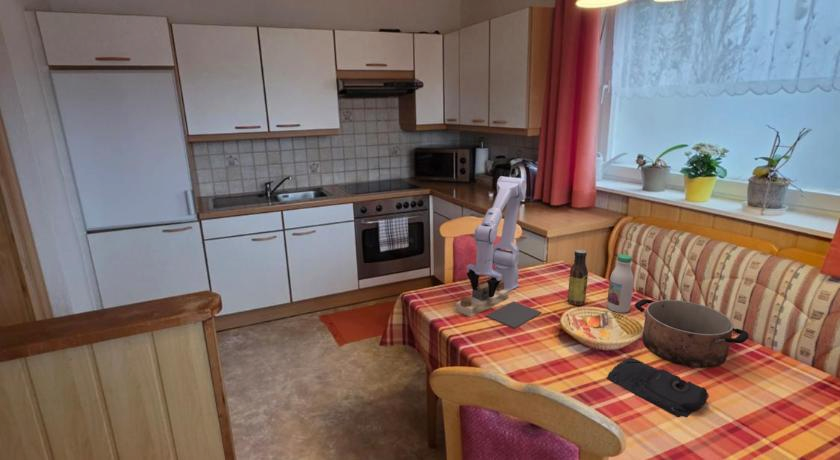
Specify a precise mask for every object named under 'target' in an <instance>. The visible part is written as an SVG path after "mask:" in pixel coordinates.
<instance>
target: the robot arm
mask: <svg viewBox="0 0 840 460" xmlns="http://www.w3.org/2000/svg"><path fill="white" fill-rule="evenodd" d="M496 192H497V193H496V196H495V199H494V201H493V205H492V206H491V208H488V209H487V211H486V213H485V215H484V217H483V219H482V222H481V223H480V224H479V225H477V226H476V228H475V229H474V233H473V237H474V243H475V246H476V258H475V259H476V263H475V264H471V263H469V264H467V265H466V271H468V272H466V276H467V278H468V280H469V281H470V282H469V283H470V285H471V289H474V288H477V286H479V279H480V276H481V275H482V276H485V277H489V279H487V280H486V281H487V282H486V283H488V286H489V297H490V298H491V297H493V296H494V294H495V291H496V288H497V286H498V284H499V283H500V281H503V282H504V289H505V290H508V291H509V292H510V291H512V290H514V289H516V288H519V287H520V284H518V283H519V282H518V281H519V268H518V264H519V262H520V248H519V247H518V246H517V245H516V244H515V243H514V240H515V234H516V229H517V221H518V215H519V208H520V206H521V205H520V204H521V202H522V201H524V200H525V196H526V192H527V182H526V179H525V178H524V177H511V176H503V175H501V176H499V178H497V181H496ZM504 208H505V212H504V218H503V212H502V211H503V210H504ZM502 218H503V223H502V224H503V225H502V230H501V231H502V232H501V237H500V241H499V242H497V243H496V244H494V243H495V241H496V239H497V235H498V230H499V229H498V228H499V225H500V223H501V220H502ZM493 267H495V268H494V269H493Z"/></svg>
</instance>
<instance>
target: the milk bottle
mask: <svg viewBox="0 0 840 460" xmlns="http://www.w3.org/2000/svg"><path fill="white" fill-rule="evenodd" d="M616 260H617V264H616V266H615V267H614V269H613V271H612V272H611V275H610V278H609V284H608V293H607V301H606V307H607V309H608V310H610V311H611V312H614V311H615V312H614V313H621V314H625V313H628V312H630V310H631V305H632V297H633V290H634V274H633V271H632V267H631V264H632V260H633V257H632V256H631V255H629V254H624V253H623V254H621V253H619V254H618V255H617V257H616Z"/></svg>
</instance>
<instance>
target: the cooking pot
mask: <svg viewBox="0 0 840 460" xmlns="http://www.w3.org/2000/svg"><path fill="white" fill-rule="evenodd" d="M646 304H648V305H647V307H646V310H645V308H644V307H643V306H644V305H646ZM634 307H635V308H636V309H637V311H639V312H641V313H644V324H643V329H642V337H641V338H642V342H643V344H644V346H645V347H646V348H647V349H648V350H649V351H650V352H651V353H653V354H654V355H656V356H657V357H659V358H661V359H663V360H665V361H668V362H670V363H673V364H677V365H679V366H685V367H689V368H695V369H710V368H711V369H712V368H716V367H718V366H721V365H722V364H724V363H726V361H727V358H728V355H729V350H730V345H731V343H733V344H743V343H745V342H746V341H747V340H748V339H749V332H748V331H746V330H744V329H739V328H734V323H733V321H732V319H730V318H729V317H728V316H727V315H726V314H724V313H722V312H721V311H718V310H716V309H714V308H712V307H709V306H707V305H703V304H701V303H700V304H699V303H695V302H691V301H688V300H687V301H686V300H678V299H662V300H661V299H660V300H656V301H654V300H652V299H649V298H643V299H640V300H638V301H637V302H635V304H634ZM733 332H735V334H738V336H736V337H732V336H733Z"/></svg>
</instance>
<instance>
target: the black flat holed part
mask: <svg viewBox="0 0 840 460" xmlns="http://www.w3.org/2000/svg"><path fill="white" fill-rule="evenodd" d="M606 380H608V381H609V382H611V383H612V384H615V385H617V386H619V387H621V388H622V389H624V390H626V391H628V392H630V393H631V394H633V395H635V396H637V397H638V398H640V399H643V400H644V401H646V402H648V403H650V404H652V405H653V406H655V407H657V408H659V409H662V410H663V411H665V412H667V413H668V414H670V415H672V416H674V417H677V418H680V417H684V418H688V417H689V416H690V415H691V414H692V413H693V412H694V413H695V412H698V411H700V410H701V409H702V408H703V407H704V405H706V403H707V399H708V397H709V396H710V395H709V393H708V391H707V389H706V388H705V387H703V386H700V385H697V384H695V383H693V382H692V381H686V380H683V379H681V377H680V376H678V375H675V374H673V373H672V372H669V371H668V370H665V369H659V368H656V367H654V366H652V365H648V364H647V363H646V364H645V363H644V362H643V361H640V360H639V359H635V358H634V357H627V358H626V359H624V360H622V361H620V362H619V363H618V364H617V365H615V366H614V367H613V368H612V369H611V371H610V372H608V373H607V377H606Z"/></svg>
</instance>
